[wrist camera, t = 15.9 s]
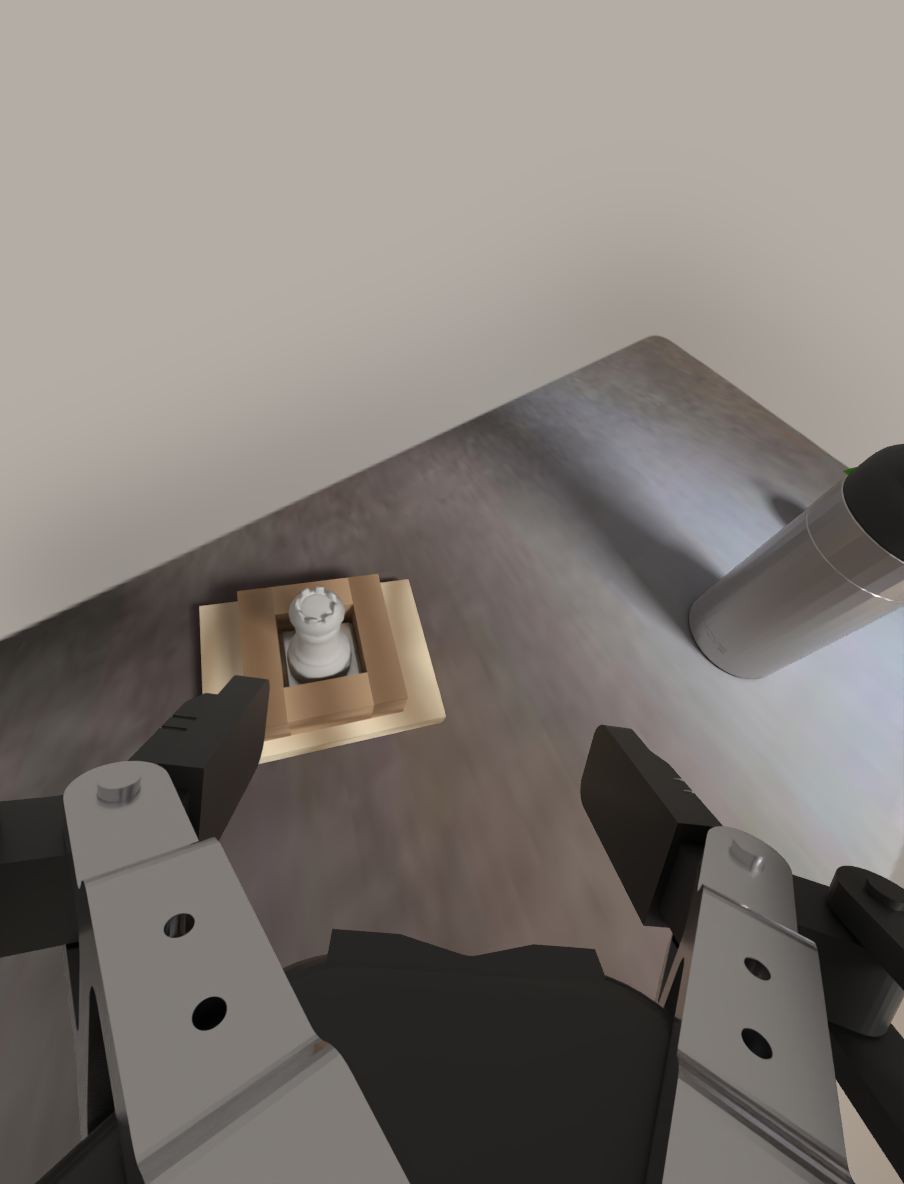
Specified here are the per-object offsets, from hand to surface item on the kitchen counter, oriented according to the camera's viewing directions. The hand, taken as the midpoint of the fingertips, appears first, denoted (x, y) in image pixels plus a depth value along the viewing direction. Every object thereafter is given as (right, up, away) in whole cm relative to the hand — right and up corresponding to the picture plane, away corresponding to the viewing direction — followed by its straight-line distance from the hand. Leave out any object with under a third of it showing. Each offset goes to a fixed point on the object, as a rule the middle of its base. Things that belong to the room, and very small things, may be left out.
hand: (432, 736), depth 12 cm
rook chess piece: (-9, -1, +24) cm, 25 cm away
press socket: (-9, -2, +25) cm, 27 cm away
